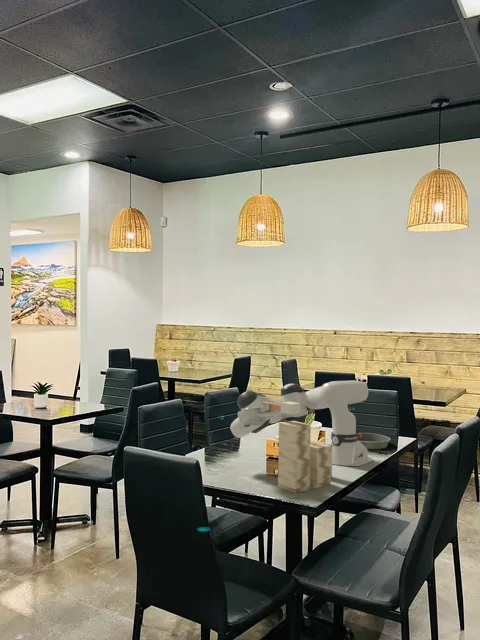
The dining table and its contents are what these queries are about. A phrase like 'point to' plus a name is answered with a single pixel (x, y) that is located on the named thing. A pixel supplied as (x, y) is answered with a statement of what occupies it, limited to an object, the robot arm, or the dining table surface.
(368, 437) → the cake pan
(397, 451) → the dining table surface
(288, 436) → the stepped wooden stack
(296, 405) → the block hammer
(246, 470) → the dining table surface
